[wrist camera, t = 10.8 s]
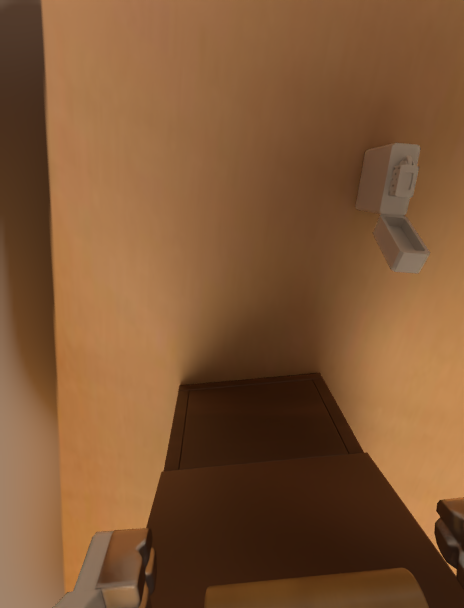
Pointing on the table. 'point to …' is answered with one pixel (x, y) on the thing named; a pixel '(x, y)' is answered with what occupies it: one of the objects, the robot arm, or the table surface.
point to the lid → (293, 539)
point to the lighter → (393, 203)
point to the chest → (257, 423)
